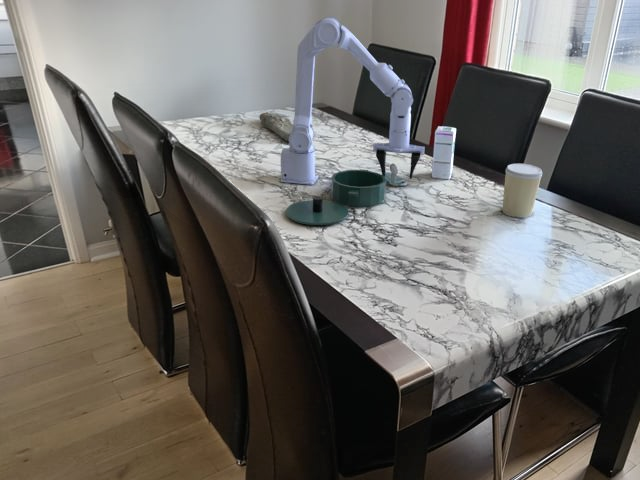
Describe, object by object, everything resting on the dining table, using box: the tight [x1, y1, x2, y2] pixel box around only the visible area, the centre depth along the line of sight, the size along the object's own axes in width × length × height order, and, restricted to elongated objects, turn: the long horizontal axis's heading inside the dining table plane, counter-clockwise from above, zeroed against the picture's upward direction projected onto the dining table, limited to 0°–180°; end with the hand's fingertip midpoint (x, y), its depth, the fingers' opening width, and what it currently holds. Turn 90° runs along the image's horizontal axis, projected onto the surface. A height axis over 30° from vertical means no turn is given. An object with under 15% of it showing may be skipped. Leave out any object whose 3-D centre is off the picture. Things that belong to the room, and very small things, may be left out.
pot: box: [330, 168, 387, 208], centre depth 156 cm, size 15×20×5 cm
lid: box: [285, 195, 350, 226], centre depth 144 cm, size 16×16×5 cm
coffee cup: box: [502, 163, 543, 219], centre depth 151 cm, size 9×9×12 cm
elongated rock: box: [259, 111, 293, 142], centre depth 211 cm, size 35×5×10 cm
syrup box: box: [431, 125, 457, 180], centre depth 174 cm, size 6×6×14 cm
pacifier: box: [385, 163, 408, 187], centre depth 168 cm, size 7×6×6 cm
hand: (397, 176), depth 168 cm, fingers open, 7 cm apart
